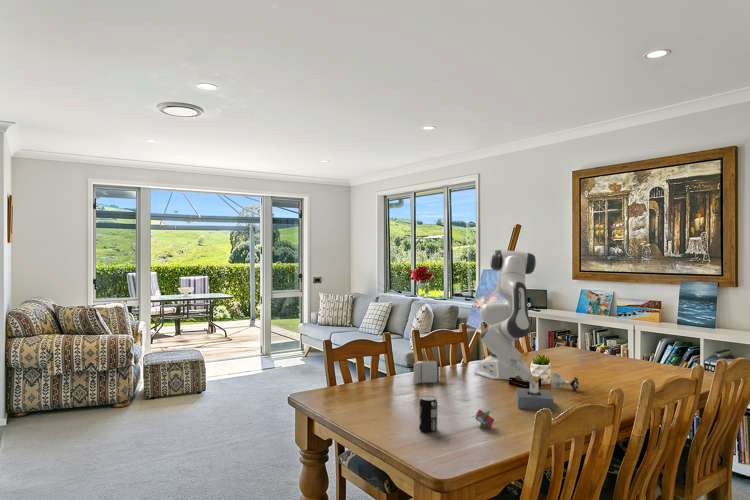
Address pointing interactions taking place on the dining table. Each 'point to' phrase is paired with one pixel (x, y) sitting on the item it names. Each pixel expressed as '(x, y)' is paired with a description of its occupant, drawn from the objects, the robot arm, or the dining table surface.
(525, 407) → the socket block
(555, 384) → the valve
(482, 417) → the geometric puzzle
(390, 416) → the dining table surface
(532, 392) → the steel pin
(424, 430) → the beverage can
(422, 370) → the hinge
